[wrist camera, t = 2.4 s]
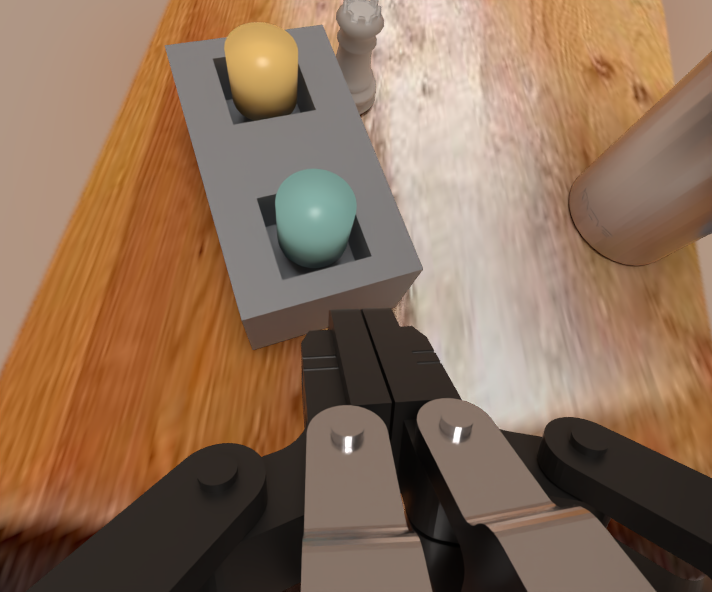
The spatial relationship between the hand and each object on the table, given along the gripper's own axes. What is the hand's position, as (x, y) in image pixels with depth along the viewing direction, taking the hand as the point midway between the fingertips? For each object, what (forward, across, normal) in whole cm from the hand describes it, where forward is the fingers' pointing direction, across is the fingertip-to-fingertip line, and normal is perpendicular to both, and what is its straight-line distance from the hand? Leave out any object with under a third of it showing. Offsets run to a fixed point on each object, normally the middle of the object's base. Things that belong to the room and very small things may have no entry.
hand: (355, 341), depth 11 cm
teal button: (+15, 0, +2) cm, 15 cm away
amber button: (+22, +3, -5) cm, 22 cm away
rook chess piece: (+30, -4, -4) cm, 31 cm away
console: (+22, +1, +3) cm, 23 cm away
